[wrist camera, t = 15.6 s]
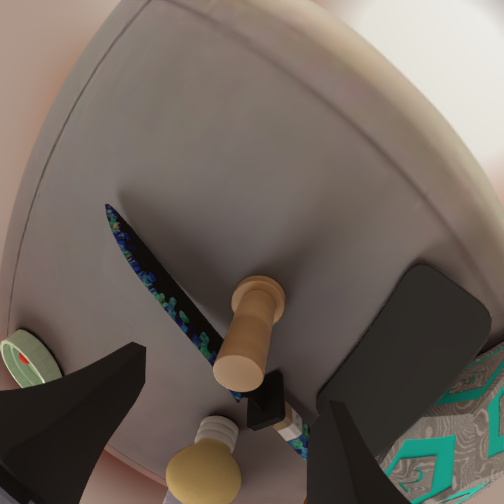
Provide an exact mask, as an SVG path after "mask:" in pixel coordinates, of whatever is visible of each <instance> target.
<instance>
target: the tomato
mask: <svg viewBox="0 0 504 504" xmlns="http://www.w3.org/2000/svg"><path fill="white" fill-rule="evenodd" d="M19 357H20V360H21V361H22V362H23V363H24V364H30V363H29V361H28V360H27V359H26V358H25V357H24V356H23V355H22V354H21V353H19Z"/></svg>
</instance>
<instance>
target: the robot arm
mask: <svg viewBox="0 0 504 504" xmlns="http://www.w3.org/2000/svg"><path fill="white" fill-rule="evenodd" d="M145 368H146V347H144V346H142V345H139V344H137V343H135V342H131V343H129V344H127V345H125V346H123V347H122V348H120V349H118V350H116V351H115V352H113V353H111V354H109V355H107V356H106V357H104V358H102V359H100V360H98V361H96V362H94V363H92V364H91V365H89V366H87V367H84V368H82V369H80V370H78V371H76V372H73V373H71V374H69V375H66V376H64V377H61V378H58V379H55V380H52V381H49V382H46V383H43V384H39V385H34V386H30V387H25V388H20V389H14V390H4V391H0V504H79V502H80V499H81V497H82V494H83V491H84V489H85V487H86V484H87V482H88V480H89V477H90V475H91V473H92V471H93V469H94V467H95V465H96V463H97V461H98V459H99V457H100V455H101V453H102V451H103V449H104V447H105V445H106V444H107V442H108V441H109V439H110V438H111V436H112V435H113V433H114V432H115V430H116V429H117V428H118V426H119V425H120V423H121V422H122V420H123V419H124V418H125V416H126V415H127V413H128V412H129V410H130V409H131V407H132V406H133V405H134V403H135V401H136V400H137V398H138V396H139V394H140V392H141V390H142V388H143V386H144V384H145ZM163 504H184V503H182V502H180V501H179V500H178V499H177V498H176V497H175V496H174V495H173V494H172V493H171V491H170V490H168V492H167V494H166V497H165V499H164V502H163ZM306 504H412V503H411V502H410V501H409V500H408V499H407V498H406V497H405V496H404V495H403V494H402V493H401V492H400V491H399V490H398V489H397V488H396V487H395V485H394V484H393V483H392V482H391V480H390V479H389V478H388V477H387V475H386V474H385V473H384V472H383V470H382V469H381V467H380V466H379V464H378V463H377V461H376V460H375V458H374V457H373V455H372V454H371V452H370V450H369V449H368V447H367V445H366V443H365V441H364V440H363V438H362V436H361V434H360V432H359V430H358V429H357V427H356V425H355V423H354V421H353V419H352V417H351V415H350V413H349V411H348V409H347V407H346V405H345V403H344V402H340V401H334V400H329V401H328V403H327V405H326V406H325V408H324V409H323V411H322V412H321V414H320V416H319V417H318V419H317V420H316V422H315V423H314V425H313V426H312V428H311V429H310V434H309V441H308V449H307V501H306Z"/></svg>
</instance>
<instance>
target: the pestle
mask: <svg viewBox="0 0 504 504" xmlns="http://www.w3.org/2000/svg"><path fill="white" fill-rule="evenodd" d="M231 305H232V310H233V312H234V317H233V319H232V322H231V324H230V326H229V329H228V331H227V334H226V336H225V339H224V341H223V344H222V346H221V348H220V351H219V353H218V356H217V358H216V360H215V363H214V366H213V373H214V376H215V378H216V380H217V381H218V382H219V383H220V384H221V385H222V386H224V387H225V388H227V389H230V390H233V391H237V392H248V391H252V390H254V389H256V388H258V387H259V386H260V385H261V384H262V382H263V379H264V375H265V369H266V363H267V357H268V351H269V345H270V340H271V333H272V327H273V324H275V323H276V322H277V321H278V320H279V319H280V318H281V317H282V315H283V313H284V309H285V294H284V291H283V289H282V288H281V286H280V285H279V284H278V283H277V282H276V281H274V280H273V279H271V278H269V277H266V276H260V275H256V276H250V277H248V278H245V279H244V280H242V281H241V282H240V283H239V284H238V285H237V287H236V289H235V291H234V293H233V295H232V299H231Z"/></svg>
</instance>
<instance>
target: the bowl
mask: <svg viewBox="0 0 504 504" xmlns="http://www.w3.org/2000/svg"><path fill="white" fill-rule="evenodd" d="M0 349H1V354H2V357H3V360H4V362H5V364H6V366H7V368H8V370H9V371H10V373H11V374H12V376H13V377H14V379H15V380H16V381H17V383H18V384H19V385H20V386H21V387H22V388H25V387H30V386H34V385H39V384H43V383H46V382H49V381H52V380H55V379H58V378H61V377H62V375H61V372H60V370H59V367H58V365H57V363H56V361H55V360H54V358H53V356H52V355H51V354H50V352H49V351H48V350H47V348H46V347H45V346H44V345H43V344H42V343H41V342H40V341H39V340H38V339H37V338H36V337H34V336H33V335H31V334H30V333H28V332H27V331H24V330H21V329H19V330H16V331H15V332H13V333H12V334H11V335H9V336H8V337H7V338H5V339H4V340H3V341H2V342H1V345H0ZM19 353H21V354H22V355H23V356H24V357H25V358H26V359H27V360H28V361H29V363H30V364H24V363H23V362H22V361H21V360H20V357H19Z"/></svg>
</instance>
